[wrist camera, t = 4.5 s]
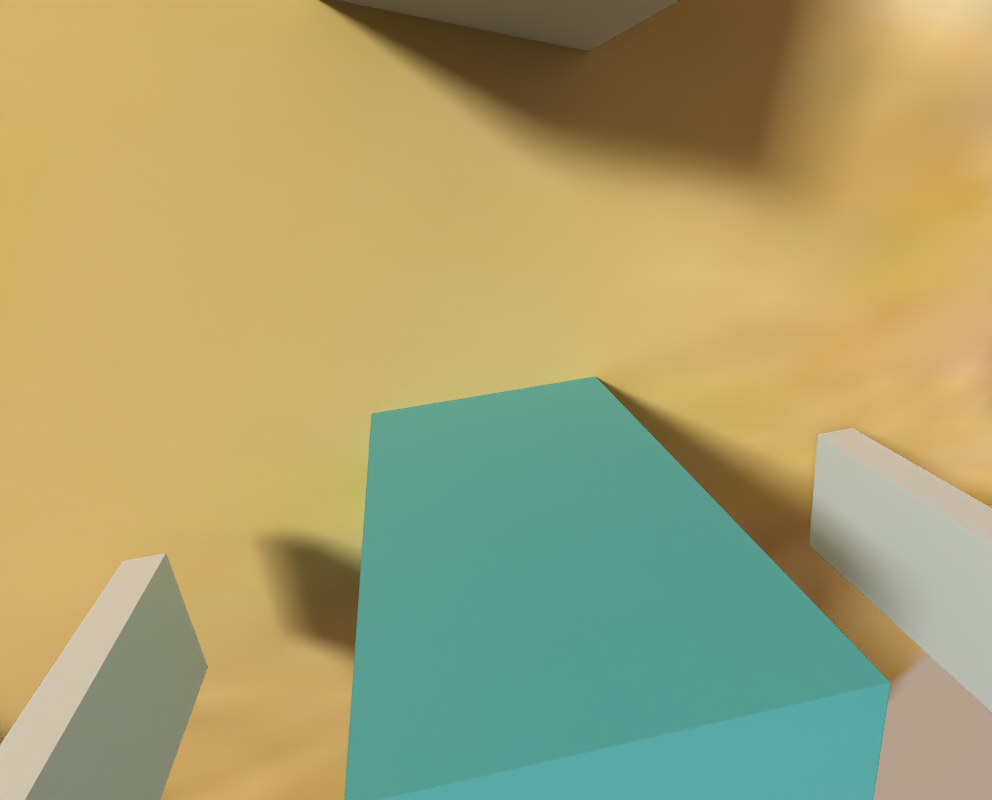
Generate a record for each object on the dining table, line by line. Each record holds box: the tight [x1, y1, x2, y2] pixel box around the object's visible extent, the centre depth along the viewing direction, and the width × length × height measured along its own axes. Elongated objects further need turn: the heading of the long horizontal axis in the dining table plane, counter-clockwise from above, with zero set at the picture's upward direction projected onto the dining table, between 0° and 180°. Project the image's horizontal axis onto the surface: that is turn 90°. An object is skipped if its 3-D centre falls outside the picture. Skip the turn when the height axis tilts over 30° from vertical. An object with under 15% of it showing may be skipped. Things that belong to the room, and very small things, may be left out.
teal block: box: [344, 377, 890, 800], centre depth 11 cm, size 5×5×9 cm
